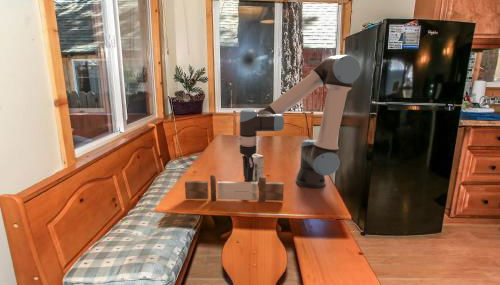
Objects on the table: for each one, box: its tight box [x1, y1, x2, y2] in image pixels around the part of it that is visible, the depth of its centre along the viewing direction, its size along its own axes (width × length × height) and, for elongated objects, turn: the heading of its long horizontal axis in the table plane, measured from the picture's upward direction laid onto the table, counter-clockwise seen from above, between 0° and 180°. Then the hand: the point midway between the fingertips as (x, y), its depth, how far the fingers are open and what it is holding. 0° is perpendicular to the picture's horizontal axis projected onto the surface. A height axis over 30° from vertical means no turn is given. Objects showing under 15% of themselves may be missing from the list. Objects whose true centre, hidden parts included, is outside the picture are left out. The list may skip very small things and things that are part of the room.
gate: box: [216, 180, 259, 201], centre depth 131 cm, size 18×2×8 cm, turn 88°
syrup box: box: [251, 153, 265, 184], centre depth 153 cm, size 6×6×14 cm
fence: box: [184, 174, 285, 204], centre depth 131 cm, size 44×3×12 cm, turn 88°
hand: (247, 193), depth 136 cm, fingers closed
